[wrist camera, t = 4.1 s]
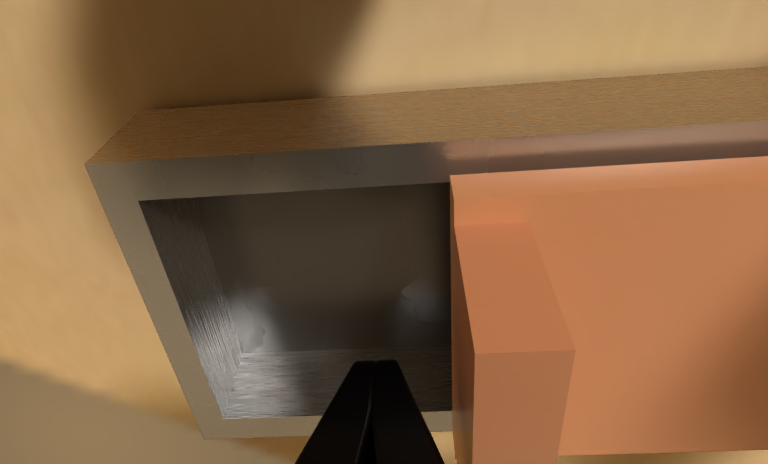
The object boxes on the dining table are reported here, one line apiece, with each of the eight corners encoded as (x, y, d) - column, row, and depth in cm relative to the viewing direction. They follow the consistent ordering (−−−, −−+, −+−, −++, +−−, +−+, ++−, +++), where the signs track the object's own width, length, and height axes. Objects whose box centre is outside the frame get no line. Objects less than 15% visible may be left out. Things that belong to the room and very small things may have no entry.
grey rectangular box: (787, 65, 11) (879, 113, 9) (691, 346, 15) (737, 421, 13) (139, 110, 12) (84, 164, 10) (228, 365, 16) (203, 439, 14)
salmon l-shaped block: (880, 149, 9) (1124, 294, 6) (750, 419, 13) (858, 588, 10) (449, 175, 9) (475, 324, 6) (452, 429, 13) (469, 594, 10)
